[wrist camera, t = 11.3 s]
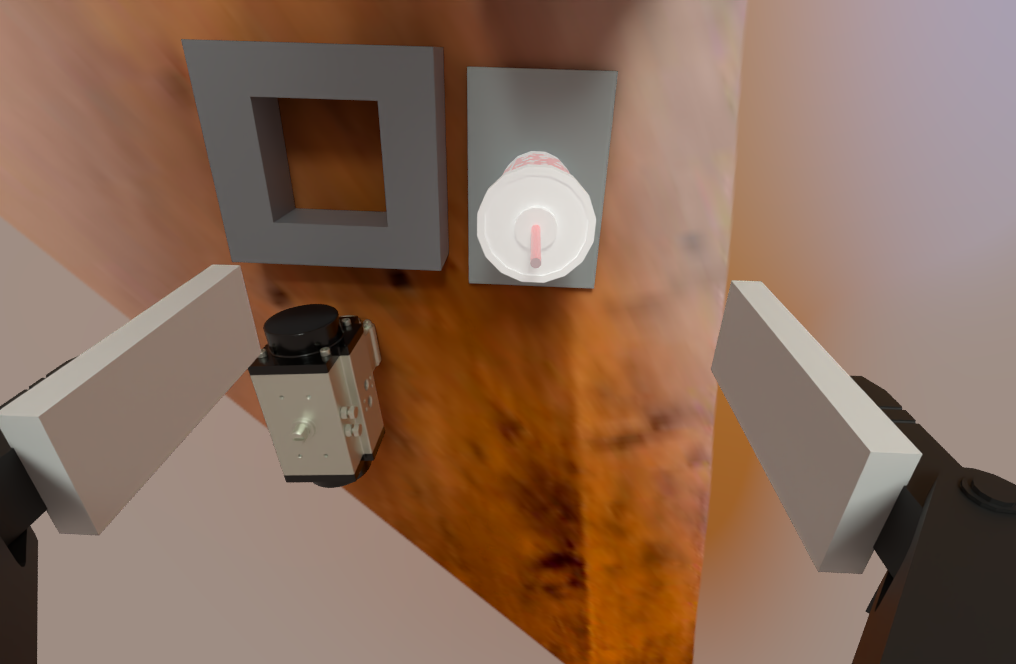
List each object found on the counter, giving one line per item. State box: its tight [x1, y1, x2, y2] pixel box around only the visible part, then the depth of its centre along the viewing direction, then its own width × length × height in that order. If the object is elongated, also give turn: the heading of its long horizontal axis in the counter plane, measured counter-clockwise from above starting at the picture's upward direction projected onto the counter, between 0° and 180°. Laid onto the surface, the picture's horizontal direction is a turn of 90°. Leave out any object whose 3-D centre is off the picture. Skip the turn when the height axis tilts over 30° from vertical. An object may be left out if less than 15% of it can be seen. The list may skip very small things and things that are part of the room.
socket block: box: [181, 39, 449, 271], centre depth 34 cm, size 13×14×4 cm
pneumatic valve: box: [248, 304, 385, 488], centre depth 37 cm, size 6×12×12 cm, turn 3°
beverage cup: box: [477, 151, 596, 283], centre depth 29 cm, size 6×6×14 cm
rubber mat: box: [467, 67, 618, 288], centre depth 35 cm, size 14×9×1 cm, turn 178°
